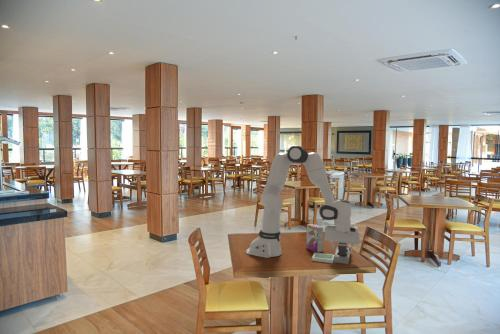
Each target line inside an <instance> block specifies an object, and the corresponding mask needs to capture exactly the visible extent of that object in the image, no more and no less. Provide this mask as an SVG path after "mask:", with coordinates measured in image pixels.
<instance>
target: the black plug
mask: <svg viewBox="0 0 500 334" xmlns="http://www.w3.org/2000/svg"><path fill="white" fill-rule="evenodd" d="M337 247H338V249H339V255H342V256H346V250H347V248H348V243H347V244H339V243H338V245H337Z"/></svg>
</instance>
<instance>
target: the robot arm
mask: <svg viewBox="0 0 500 334" xmlns="http://www.w3.org/2000/svg"><path fill="white" fill-rule="evenodd" d="M299 164H302V165H304V168H305V171H306V174H307V176H308V179H309V181H310V183H311V184H312V185H314V186H316V187H317V188H318V189H319V190H320V192H321V195H322V197H323V200H324V204H323V205H322V206H321V207H320V208H319V210H318V211H319V216H320V218H322V219H323V220H326V221H332V220H333V221H335V222H334V225H329V224H328V225H326V226H325V227H324V232H325V235H324V241H326V242H330V245H331V246H332V248H331V249H332V250H336V245H334V243H339V242H340V243H347V244H350V246H349V247H348V248H349V251H350V252H352V249H353V247H354V245H360V243H361V236H360V232H359V227H358V226H357V225H354V224H353V223H352V221H351V217H352V205H351V204H352V203H351V202H350V201H349V200H347V199H344V198H337V199H336V198H335V196H334V194H333V191H332V188H331V186H330V185H331V184H330V182H329V178H328V175H327V171H326V167H325V165H324V164H325V163H323V159H322V158H321V155H320V154H319V153H318V152H315V151H313V152H308V151H307V150H306V149H305V148H304V147H303V146H301V145H298V144H297V145H295V144H294V145H291V146H290V147H289V148H288V149H287V152H286V153H285V152H284V153H283V152H278V153H277V154H275V155H274V158H273V160H272V163H271V165H270V170H269V173H268V177H267V181H266V183H265V185H264V188H263V191H262V193H261V195H260V202H261V204H262V205H263V215H262V218H261V222H262V223H261V229H260V230H259V232H258V236H257V237H256V238H254V239H253V240H252V241H251V243H250V245H249V247H248V248H247V249H246V250H245V251H246V252H245V253H246V255H251V256H255V257H261V258H267V259H269V258H272V257H279V256H282V255H283V253H282V248H281V236H282V235H281V229H280V228H281V227H280V226H281V214H282V209H283V206H284V201H283V199H282V196H281V192H282V191H283V188H284V187H285V184H286V180H287V177H288V174H289V170H290V169H289V168H290V166H291V165H299Z"/></svg>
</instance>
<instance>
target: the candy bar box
mask: <svg viewBox="0 0 500 334" xmlns="http://www.w3.org/2000/svg"><path fill="white" fill-rule="evenodd" d="M305 233H306V235H305V236H306V240H305V241H306V242H305V243H306V244H305V248H306V249H308V250H310V251H312V252H314V253H322V252H323V248H324V244H323V243H324V242H323V241H324V227H323V226H320V225H317V224H313V223H308V224H306V232H305Z"/></svg>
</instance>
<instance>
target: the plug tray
mask: <svg viewBox="0 0 500 334" xmlns="http://www.w3.org/2000/svg"><path fill="white" fill-rule="evenodd" d="M334 256H335V254H331V253H322V252H314V253H313V255H312V257H311V260H312V262H319V263H325V264H326V263H328V264H333V263H334Z"/></svg>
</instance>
